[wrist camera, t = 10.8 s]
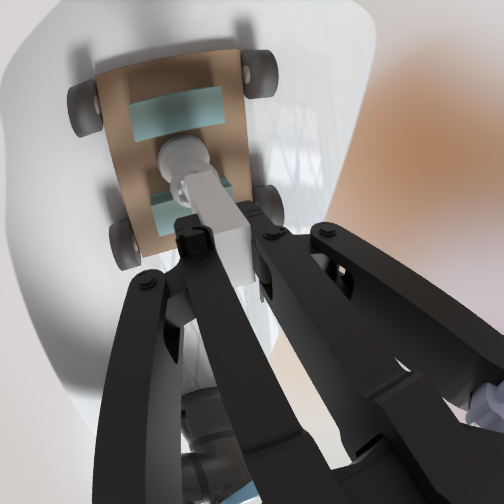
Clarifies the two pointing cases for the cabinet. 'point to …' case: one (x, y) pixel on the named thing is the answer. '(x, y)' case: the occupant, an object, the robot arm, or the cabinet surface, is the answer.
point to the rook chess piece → (183, 164)
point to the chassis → (170, 125)
